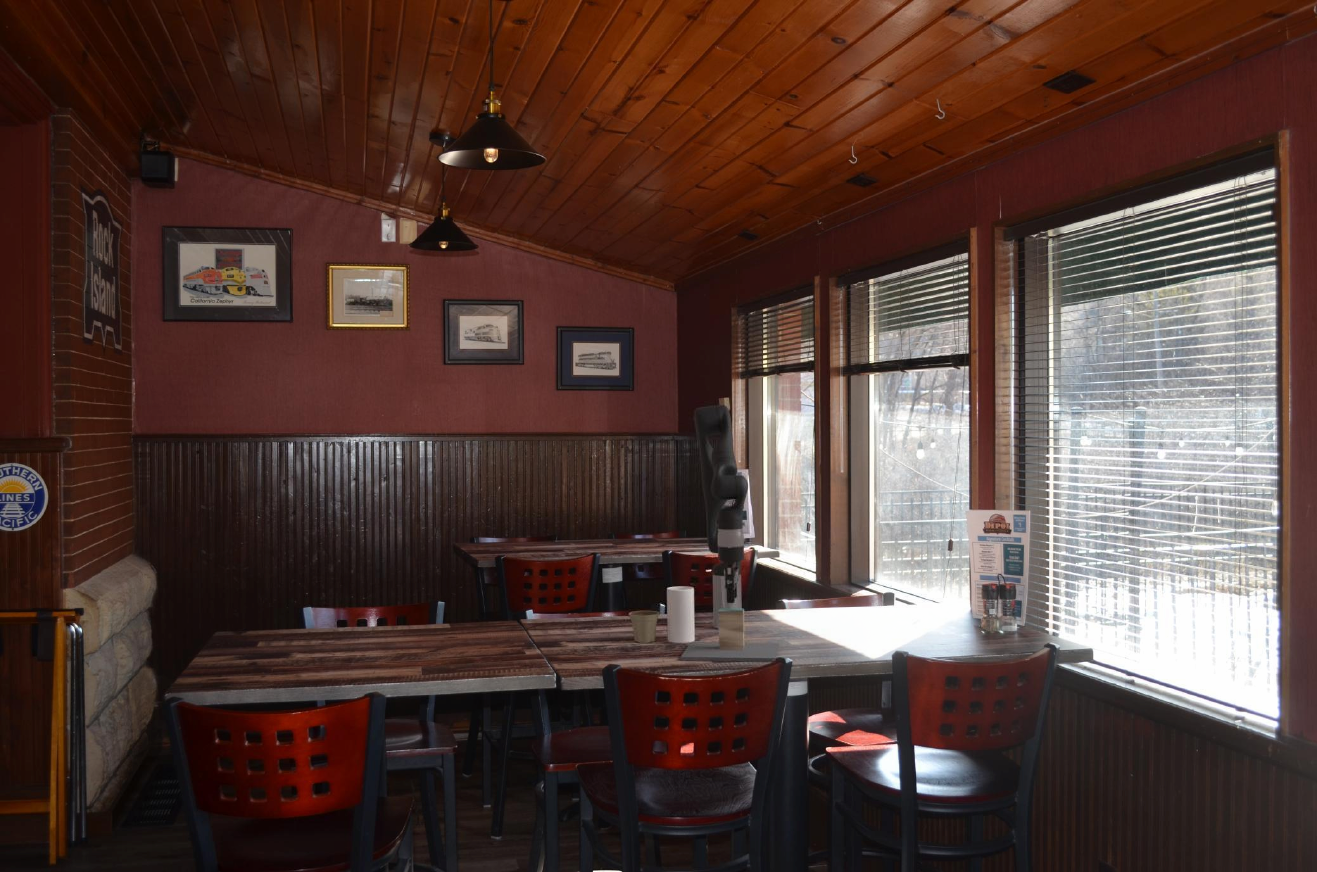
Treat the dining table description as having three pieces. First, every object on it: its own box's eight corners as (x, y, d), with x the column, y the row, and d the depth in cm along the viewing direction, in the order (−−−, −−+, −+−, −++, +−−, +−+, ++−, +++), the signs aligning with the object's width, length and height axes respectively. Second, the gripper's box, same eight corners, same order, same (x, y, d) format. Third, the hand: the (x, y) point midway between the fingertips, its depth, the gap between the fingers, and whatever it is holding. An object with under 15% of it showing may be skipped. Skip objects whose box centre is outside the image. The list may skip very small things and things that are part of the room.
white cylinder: (670, 643, 323) (669, 590, 323) (665, 638, 331) (664, 587, 331) (697, 642, 325) (696, 589, 325) (691, 637, 333) (690, 585, 333)
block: (720, 646, 312) (719, 608, 312) (744, 646, 311) (744, 608, 311) (719, 648, 308) (718, 610, 308) (743, 649, 307) (742, 610, 307)
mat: (690, 645, 319) (690, 642, 319) (778, 646, 315) (778, 643, 315) (680, 660, 298) (680, 656, 298) (774, 661, 293) (774, 658, 293)
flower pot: (635, 645, 321) (635, 616, 321) (624, 640, 330) (624, 612, 330) (664, 642, 325) (664, 614, 325) (653, 637, 334) (652, 609, 334)
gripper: (720, 541, 317) (721, 596, 317) (715, 547, 303) (716, 604, 303) (745, 541, 316) (746, 596, 316) (742, 547, 302) (743, 604, 302)
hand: (732, 600), depth 309 cm, fingers open, 8 cm apart
